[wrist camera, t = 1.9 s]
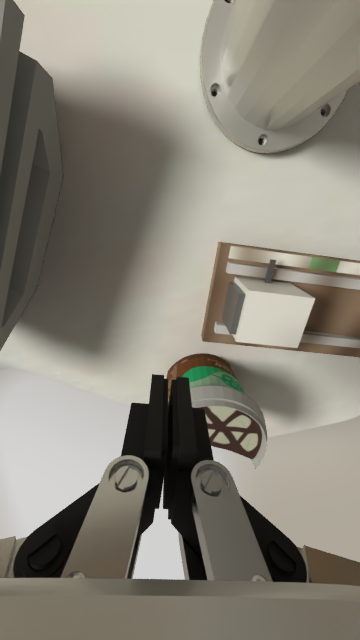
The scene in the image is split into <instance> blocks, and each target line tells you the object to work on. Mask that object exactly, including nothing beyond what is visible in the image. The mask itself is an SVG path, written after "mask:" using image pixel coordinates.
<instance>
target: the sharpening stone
mask: <svg viewBox="0 0 360 640" xmlns="http://www.w3.org/2000/svg"><path fill="white" fill-rule="evenodd" d="M23 22H24V14H23V13H22V11H21V10H20V9H19V7H18V6H17V5H16V3H15V2H14V1H13V0H0V350H1V349H2V347H3V345H4V343H5V342H6V340H7V338H8V337H9V335H10V333H11V331H12V330H13V328H14V326H15V324H16V323H17V321H18V319H19V317H20V316H21V314H22V312H23V311H24V309H25V307H26V305H27V304H28V302H29V300H30V298H31V297H32V295H33V293H34V292H35V290H36V288H37V286H38V282H39V278H40V274H41V270H42V265H43V261H44V257H45V253H46V248H47V244H48V240H49V235H50V231H51V227H52V223H53V218H54V214H55V210H56V205H57V201H58V197H59V193H60V188H61V184H62V180H63V170H62V161H61V152H60V143H59V134H58V124H57V115H56V106H55V97H54V88H53V79H52V77H51V76H50V75H49V74H48V73H47V72H46V71H45V69H44V68H43V67H42V66H41V65H40V64H39V63H38V62H37V61H36V60H34V59H32V58H31V57H29V56H27V55H25V54H23V53H21V52H20V51H19V48H20V42H21V35H22V29H23Z"/></svg>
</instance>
